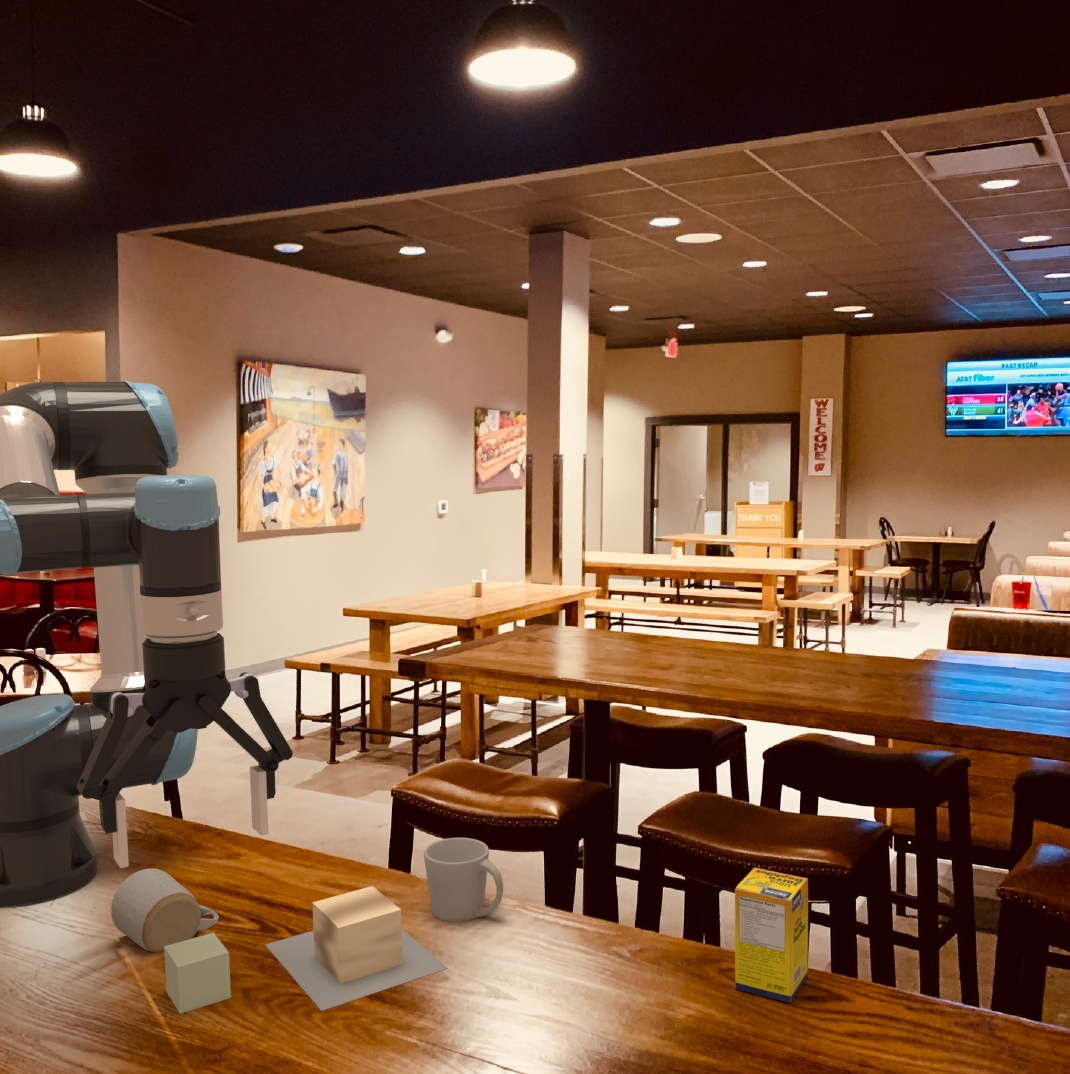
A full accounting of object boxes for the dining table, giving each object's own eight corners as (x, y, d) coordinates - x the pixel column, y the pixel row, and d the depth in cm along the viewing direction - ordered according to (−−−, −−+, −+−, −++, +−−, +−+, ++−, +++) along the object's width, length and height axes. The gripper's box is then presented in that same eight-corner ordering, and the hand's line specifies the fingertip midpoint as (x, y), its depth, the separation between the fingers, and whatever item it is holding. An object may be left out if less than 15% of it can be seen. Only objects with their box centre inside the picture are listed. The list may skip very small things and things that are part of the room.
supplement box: (808, 978, 109) (809, 877, 108) (791, 1005, 104) (792, 900, 103) (753, 963, 112) (753, 865, 111) (733, 989, 107) (734, 887, 106)
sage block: (166, 1002, 106) (164, 946, 105) (216, 987, 108) (213, 932, 108) (180, 1026, 102) (177, 967, 101) (231, 1009, 104) (228, 952, 104)
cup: (450, 899, 128) (448, 832, 127) (519, 918, 123) (518, 848, 122) (412, 925, 121) (410, 855, 121) (483, 946, 116) (482, 873, 115)
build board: (265, 955, 115) (265, 944, 115) (381, 920, 123) (381, 910, 123) (321, 1022, 102) (321, 1010, 102) (447, 979, 109) (447, 968, 109)
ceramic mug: (144, 969, 112) (142, 900, 112) (111, 944, 118) (108, 878, 117) (233, 935, 120) (231, 871, 119) (197, 913, 126) (195, 851, 125)
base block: (314, 956, 112) (312, 902, 112) (374, 937, 116) (372, 886, 115) (340, 984, 106) (338, 927, 106) (402, 964, 110) (401, 909, 110)
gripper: (50, 658, 91) (64, 892, 93) (319, 625, 105) (326, 829, 107) (35, 644, 97) (49, 863, 99) (292, 615, 111) (299, 808, 113)
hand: (193, 846), depth 103 cm, fingers open, 13 cm apart
